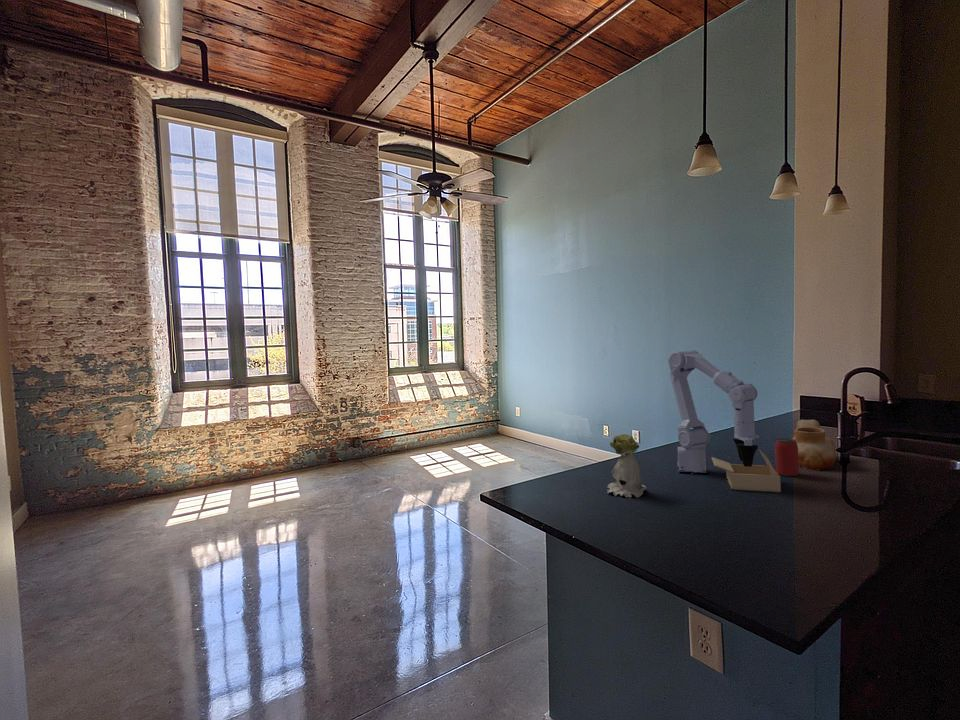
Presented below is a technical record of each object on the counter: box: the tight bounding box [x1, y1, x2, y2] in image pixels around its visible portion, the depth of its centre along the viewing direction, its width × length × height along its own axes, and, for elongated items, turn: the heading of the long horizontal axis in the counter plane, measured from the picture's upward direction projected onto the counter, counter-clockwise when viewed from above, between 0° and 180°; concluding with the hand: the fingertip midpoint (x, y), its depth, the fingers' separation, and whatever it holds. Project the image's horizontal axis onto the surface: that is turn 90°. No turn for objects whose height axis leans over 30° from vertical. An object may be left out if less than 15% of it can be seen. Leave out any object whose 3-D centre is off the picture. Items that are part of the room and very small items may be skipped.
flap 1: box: [711, 456, 734, 473], centre depth 151 cm, size 6×11×1 cm, turn 157°
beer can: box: [774, 437, 800, 477], centre depth 158 cm, size 7×7×12 cm
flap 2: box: [758, 449, 776, 475], centre depth 146 cm, size 6×11×1 cm
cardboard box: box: [725, 463, 782, 493], centre depth 148 cm, size 13×13×5 cm
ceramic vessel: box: [791, 419, 837, 470], centre depth 172 cm, size 14×26×15 cm, turn 148°
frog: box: [606, 433, 647, 499], centre depth 148 cm, size 12×13×18 cm
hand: (745, 463), depth 149 cm, fingers open, 7 cm apart
